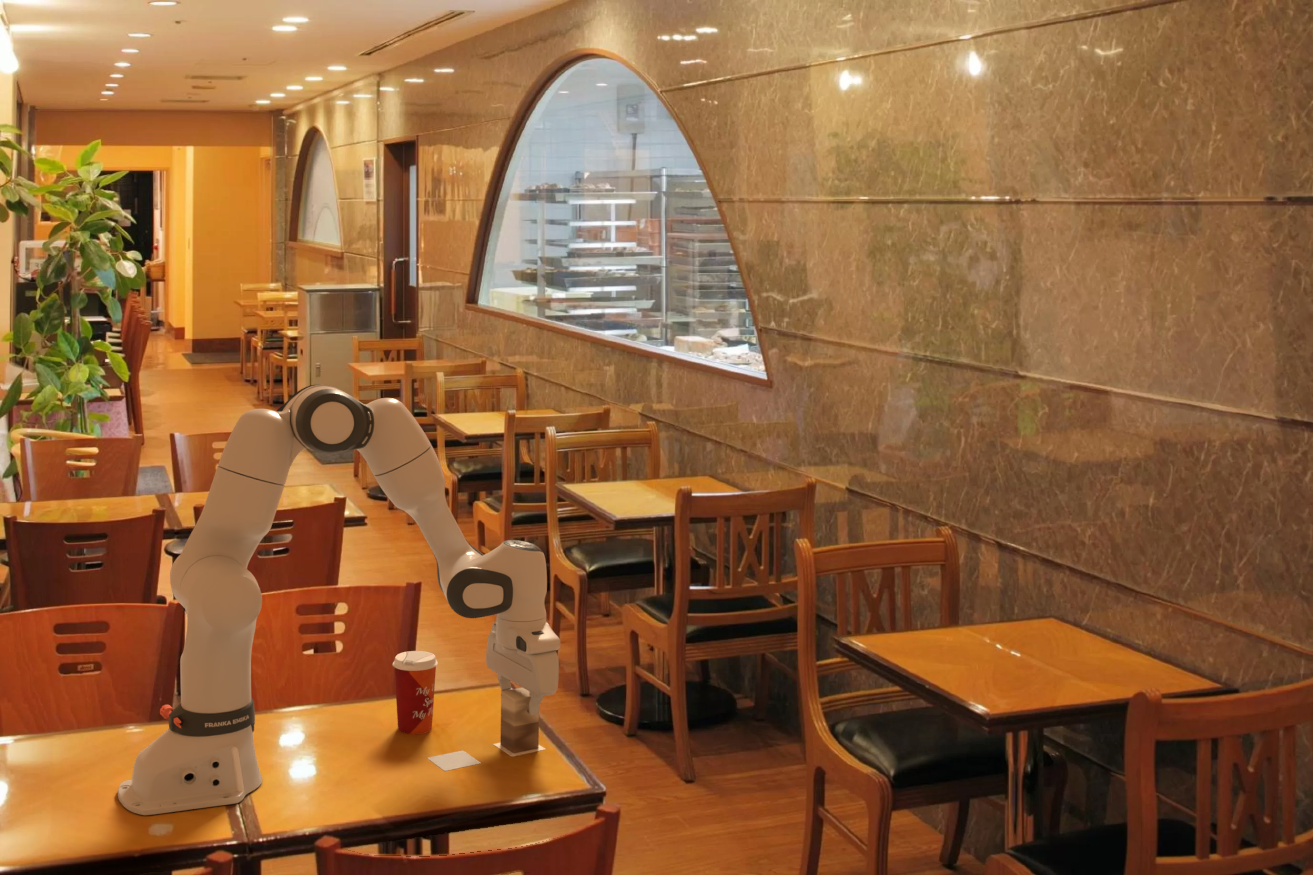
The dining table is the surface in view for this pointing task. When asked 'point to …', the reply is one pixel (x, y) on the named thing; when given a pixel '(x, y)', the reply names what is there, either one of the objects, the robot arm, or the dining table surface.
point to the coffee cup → (415, 690)
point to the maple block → (516, 707)
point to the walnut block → (519, 736)
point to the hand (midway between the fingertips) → (519, 705)
